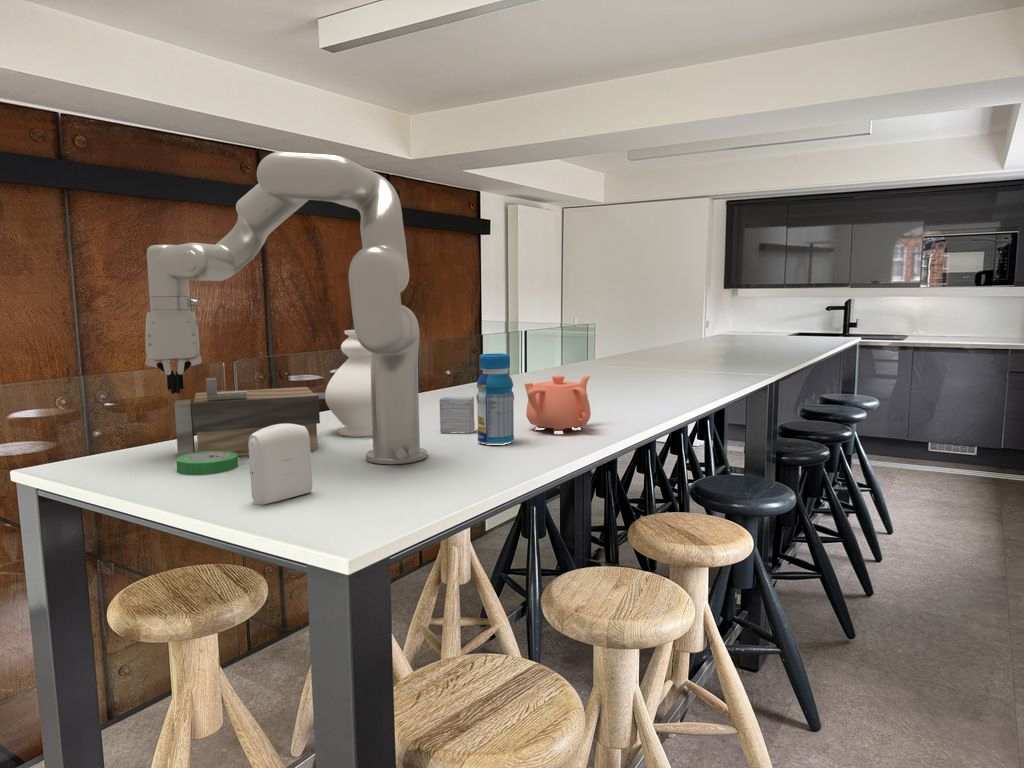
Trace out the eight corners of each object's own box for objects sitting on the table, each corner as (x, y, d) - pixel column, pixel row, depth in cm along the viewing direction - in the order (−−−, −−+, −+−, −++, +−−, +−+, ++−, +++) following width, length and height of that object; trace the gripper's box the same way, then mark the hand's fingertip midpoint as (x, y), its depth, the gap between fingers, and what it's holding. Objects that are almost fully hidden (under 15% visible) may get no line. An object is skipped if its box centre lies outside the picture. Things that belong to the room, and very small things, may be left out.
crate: (317, 449, 157) (315, 397, 156) (177, 461, 147) (173, 406, 146) (307, 433, 176) (305, 387, 174) (182, 442, 165) (179, 394, 164)
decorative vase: (384, 422, 189) (381, 327, 186) (412, 433, 174) (409, 330, 171) (317, 430, 180) (313, 330, 177) (340, 442, 165) (336, 333, 162)
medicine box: (475, 430, 177) (474, 395, 176) (472, 434, 173) (471, 398, 172) (443, 430, 178) (442, 395, 177) (439, 433, 173) (439, 398, 172)
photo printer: (261, 507, 114) (257, 430, 113) (247, 502, 117) (243, 427, 115) (316, 493, 122) (313, 421, 120) (302, 489, 125) (298, 419, 123)
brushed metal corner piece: (247, 397, 155) (246, 377, 154) (207, 399, 152) (205, 379, 151) (246, 395, 158) (245, 376, 157) (207, 398, 155) (206, 378, 154)
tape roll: (250, 465, 144) (249, 452, 144) (209, 478, 134) (208, 464, 134) (207, 461, 148) (206, 448, 148) (164, 473, 138) (163, 460, 138)
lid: (319, 423, 155) (318, 395, 154) (193, 432, 146) (191, 403, 145) (308, 408, 176) (307, 384, 175) (197, 415, 167) (195, 390, 166)
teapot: (524, 424, 184) (524, 372, 183) (590, 423, 185) (590, 371, 183) (527, 436, 168) (526, 379, 167) (598, 436, 169) (599, 379, 167)
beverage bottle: (502, 448, 156) (501, 356, 154) (469, 444, 160) (468, 355, 158) (521, 441, 164) (520, 353, 161) (489, 437, 168) (488, 352, 165)
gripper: (209, 304, 155) (214, 389, 157) (132, 305, 150) (138, 392, 152) (209, 305, 148) (214, 393, 150) (127, 306, 143) (134, 397, 145)
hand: (176, 392), depth 151 cm, fingers closed
